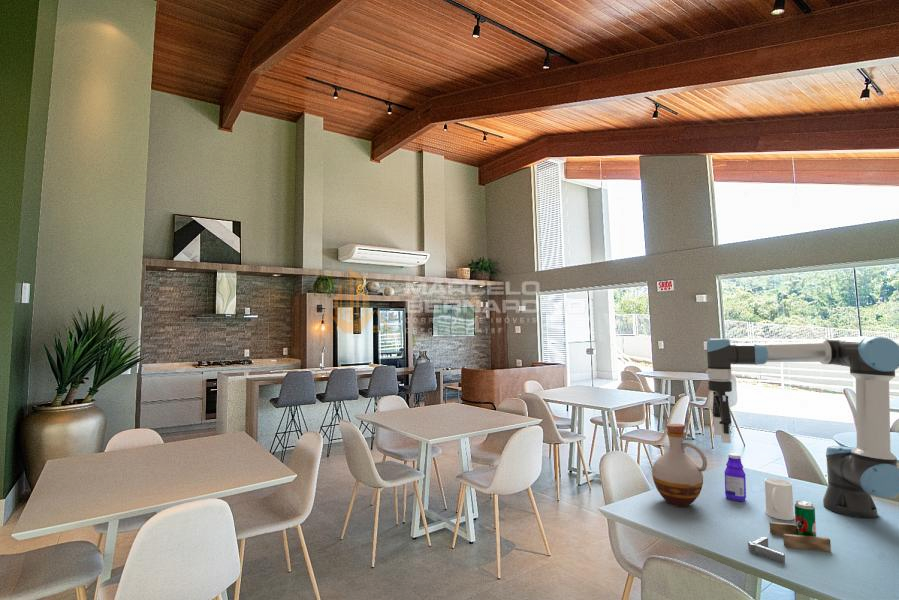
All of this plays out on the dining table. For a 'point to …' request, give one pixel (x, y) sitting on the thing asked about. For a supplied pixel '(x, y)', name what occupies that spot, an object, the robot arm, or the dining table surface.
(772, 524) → the guide channel
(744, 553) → the dining table surface
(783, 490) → the mug
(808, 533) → the soda can
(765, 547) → the v block
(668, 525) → the dining table surface
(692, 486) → the jug
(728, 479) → the bottle
